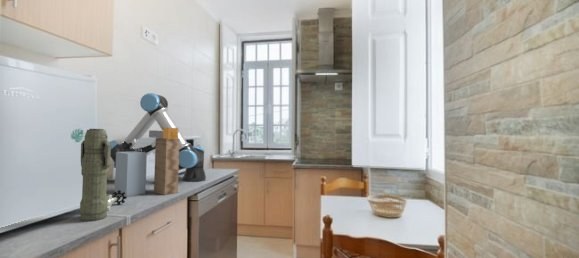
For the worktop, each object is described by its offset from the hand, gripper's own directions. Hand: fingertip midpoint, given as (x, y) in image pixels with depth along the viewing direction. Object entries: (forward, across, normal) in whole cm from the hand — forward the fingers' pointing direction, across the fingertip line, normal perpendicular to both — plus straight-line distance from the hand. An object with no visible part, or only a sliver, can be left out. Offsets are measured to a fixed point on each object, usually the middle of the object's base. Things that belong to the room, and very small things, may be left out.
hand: (147, 140), depth 168 cm
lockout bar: (+14, 0, -5) cm, 15 cm away
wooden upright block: (+3, 0, -34) cm, 34 cm away
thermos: (+19, +43, -43) cm, 63 cm away
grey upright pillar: (-8, +13, -28) cm, 31 cm away
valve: (+10, +32, -38) cm, 51 cm away
